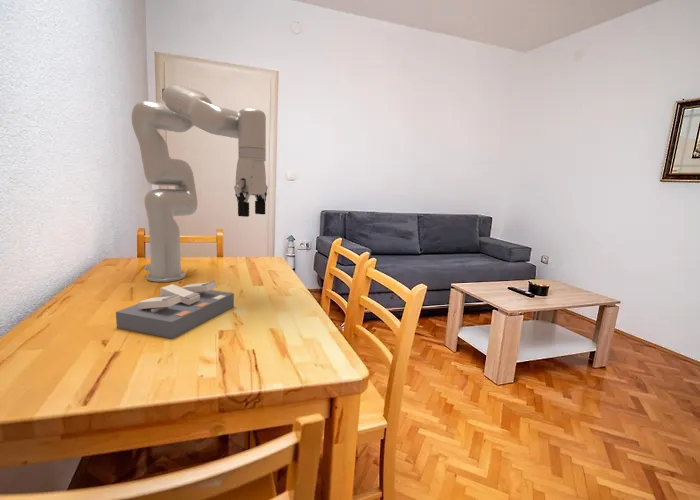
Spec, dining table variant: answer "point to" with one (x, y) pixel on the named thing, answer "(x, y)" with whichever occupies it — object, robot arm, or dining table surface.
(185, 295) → the rocker
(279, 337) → the dining table surface
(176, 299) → the rocker
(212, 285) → the rocker
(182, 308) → the switch unit
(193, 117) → the robot arm
